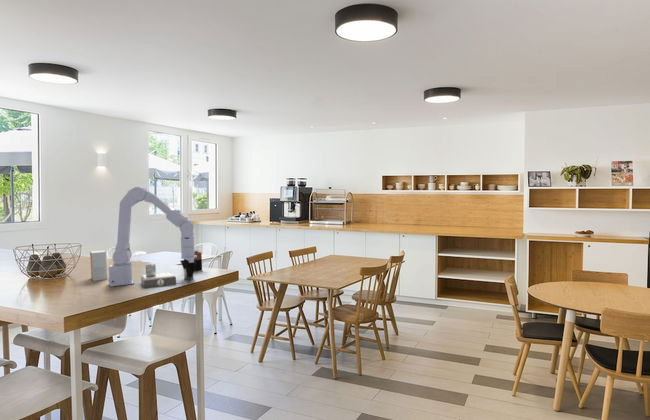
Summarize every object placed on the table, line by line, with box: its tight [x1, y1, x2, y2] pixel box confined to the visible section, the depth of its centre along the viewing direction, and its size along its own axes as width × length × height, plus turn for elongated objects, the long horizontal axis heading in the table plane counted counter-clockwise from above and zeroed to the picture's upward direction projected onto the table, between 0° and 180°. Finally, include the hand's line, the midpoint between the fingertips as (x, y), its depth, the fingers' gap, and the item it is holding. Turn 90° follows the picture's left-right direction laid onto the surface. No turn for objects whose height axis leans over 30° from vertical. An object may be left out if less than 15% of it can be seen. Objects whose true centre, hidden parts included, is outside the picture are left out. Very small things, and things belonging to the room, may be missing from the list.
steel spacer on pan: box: [145, 263, 157, 277], centre depth 195 cm, size 4×4×5 cm
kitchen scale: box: [140, 272, 177, 289], centre depth 196 cm, size 13×12×4 cm
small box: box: [89, 249, 108, 282], centre depth 211 cm, size 8×6×13 cm
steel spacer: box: [183, 268, 194, 281], centre depth 205 cm, size 4×4×5 cm
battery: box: [194, 250, 203, 272], centre depth 226 cm, size 4×7×10 cm, turn 141°
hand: (188, 276), depth 205 cm, fingers open, 5 cm apart
